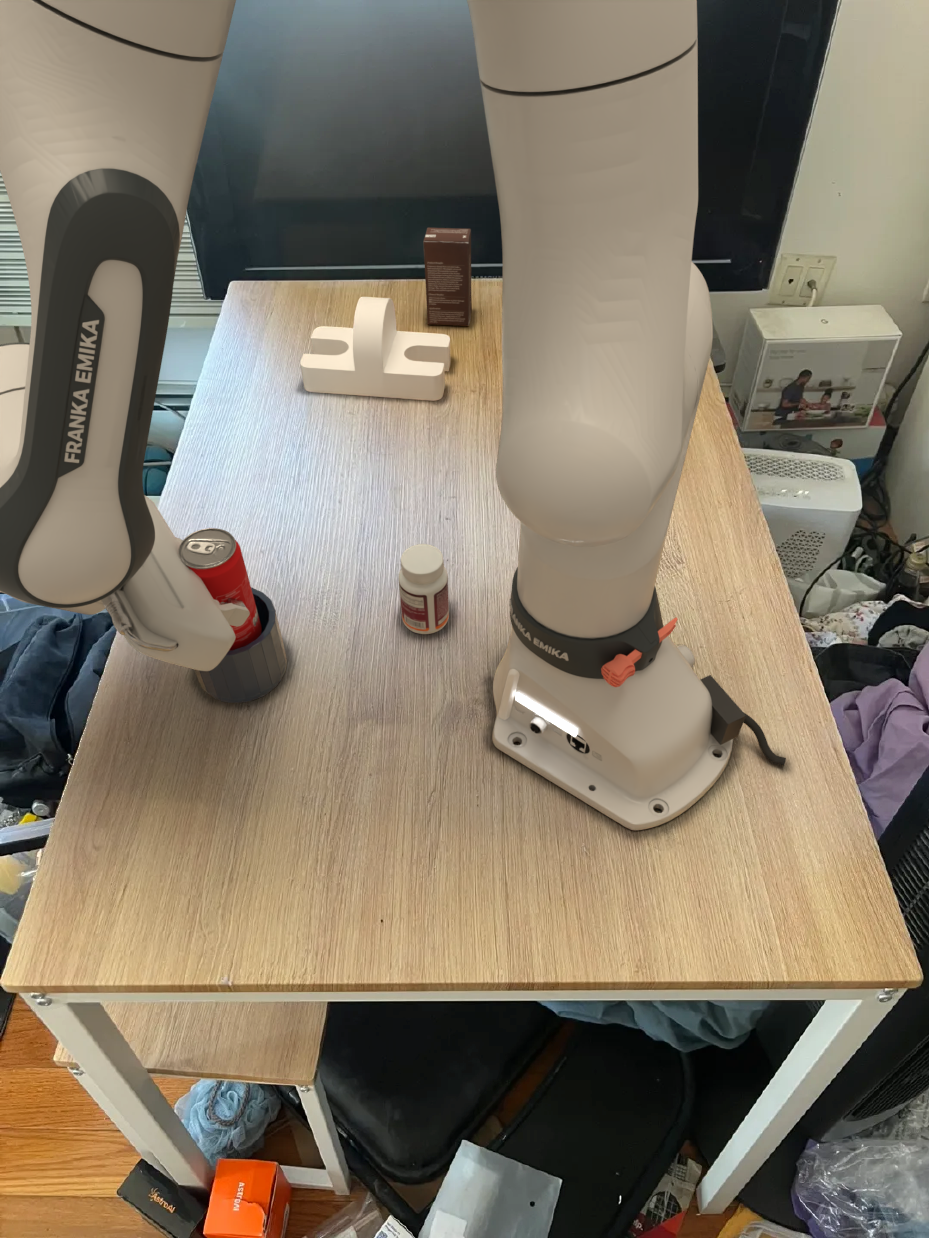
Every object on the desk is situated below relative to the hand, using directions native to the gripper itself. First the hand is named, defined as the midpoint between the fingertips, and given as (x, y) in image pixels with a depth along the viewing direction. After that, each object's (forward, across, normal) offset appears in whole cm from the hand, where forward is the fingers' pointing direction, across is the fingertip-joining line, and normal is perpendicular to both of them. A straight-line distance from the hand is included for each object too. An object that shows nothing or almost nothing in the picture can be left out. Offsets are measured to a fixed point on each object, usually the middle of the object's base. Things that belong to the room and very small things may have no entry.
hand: (228, 590), depth 79 cm
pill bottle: (+20, -4, -5) cm, 21 cm away
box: (+42, +42, -27) cm, 65 cm away
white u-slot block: (+31, +36, -16) cm, 50 cm away
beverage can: (+4, 0, +5) cm, 7 cm away
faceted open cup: (+7, 0, +8) cm, 10 cm away
